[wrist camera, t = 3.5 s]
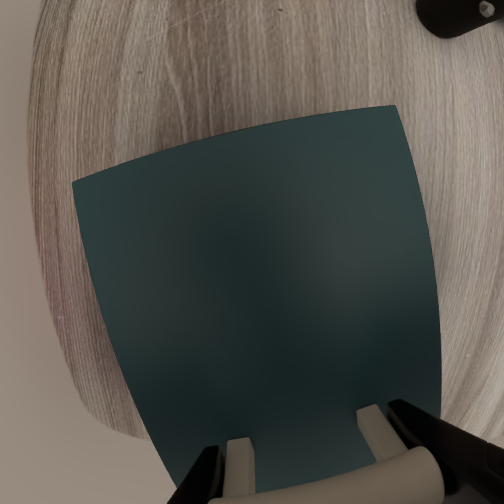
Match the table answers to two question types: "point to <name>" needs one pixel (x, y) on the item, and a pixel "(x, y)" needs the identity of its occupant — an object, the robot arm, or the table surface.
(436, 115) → the table surface
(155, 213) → the lid
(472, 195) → the table surface
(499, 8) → the camera
